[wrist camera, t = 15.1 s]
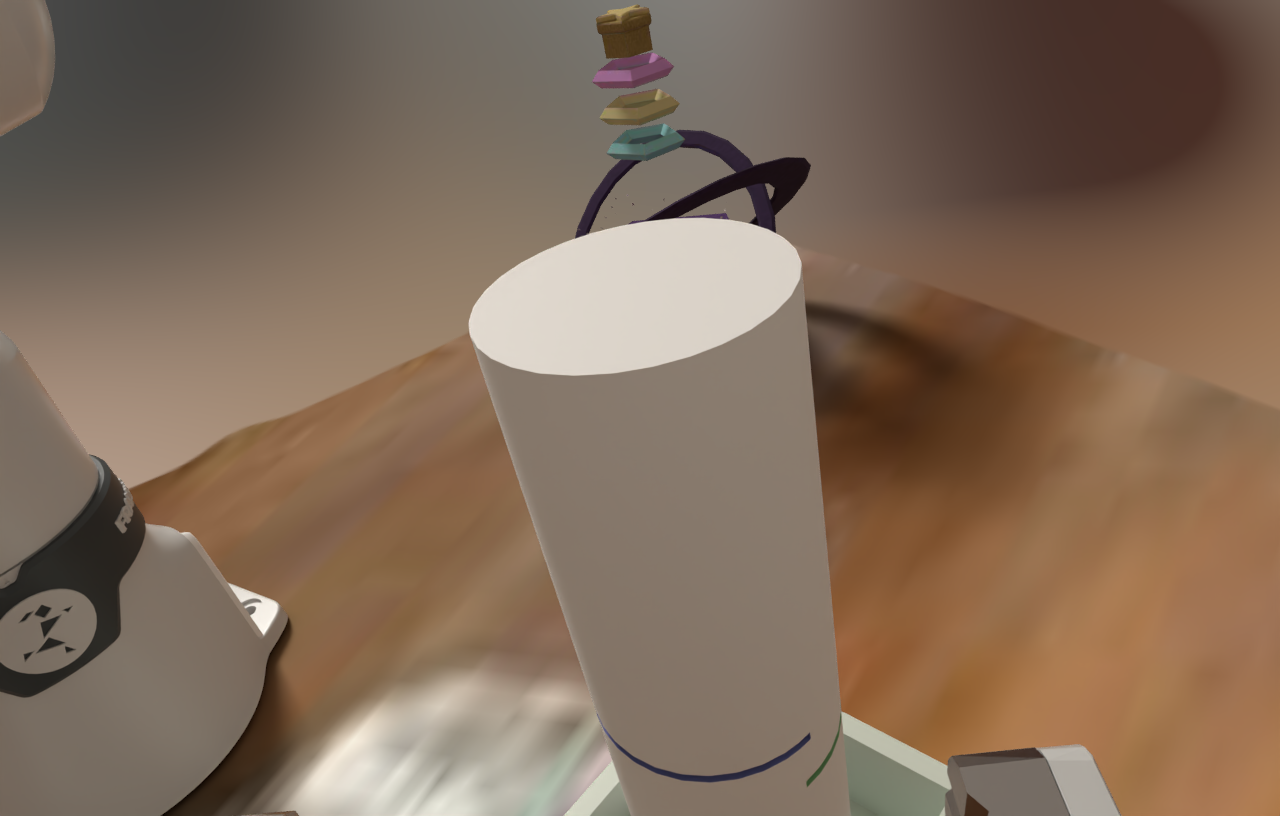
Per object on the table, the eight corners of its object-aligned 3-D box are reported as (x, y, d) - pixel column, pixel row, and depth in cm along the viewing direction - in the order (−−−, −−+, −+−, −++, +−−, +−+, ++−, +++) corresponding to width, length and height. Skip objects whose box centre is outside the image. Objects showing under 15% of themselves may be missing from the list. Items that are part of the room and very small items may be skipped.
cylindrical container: (631, 865, 33) (429, 293, 20) (780, 769, 36) (689, 195, 22) (731, 1047, 28) (544, 423, 14) (901, 920, 30) (876, 275, 17)
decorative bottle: (709, 261, 81) (665, -29, 67) (880, 327, 65) (868, -34, 52) (503, 360, 72) (405, 49, 59) (644, 463, 56) (555, 71, 43)
